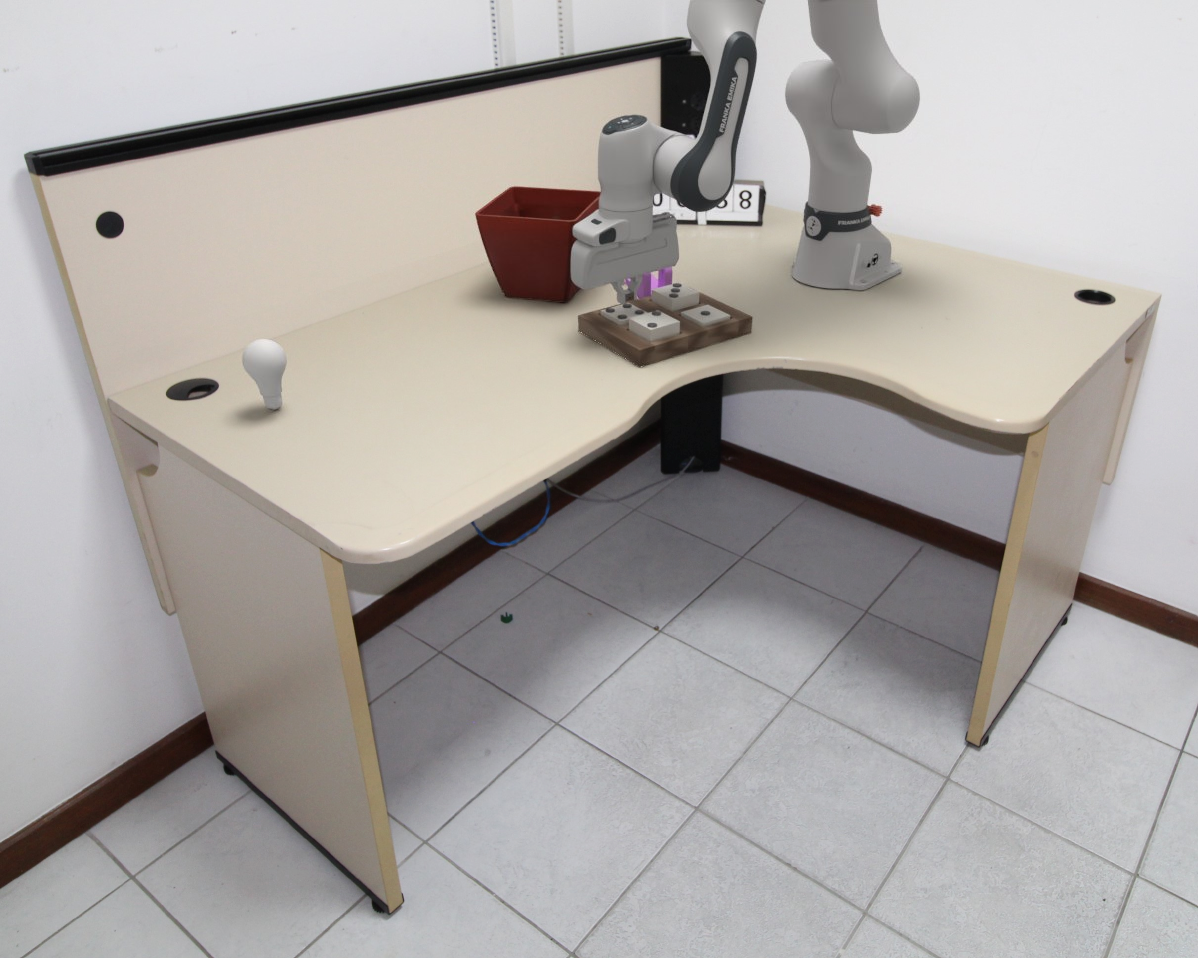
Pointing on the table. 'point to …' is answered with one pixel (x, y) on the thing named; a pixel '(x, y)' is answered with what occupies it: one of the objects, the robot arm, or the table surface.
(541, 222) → the plant pot
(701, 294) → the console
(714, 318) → the button one dot
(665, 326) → the button two dots
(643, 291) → the bracket
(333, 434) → the table surface
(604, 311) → the button four dots
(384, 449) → the table surface
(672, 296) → the button three dots
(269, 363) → the lightbulb
